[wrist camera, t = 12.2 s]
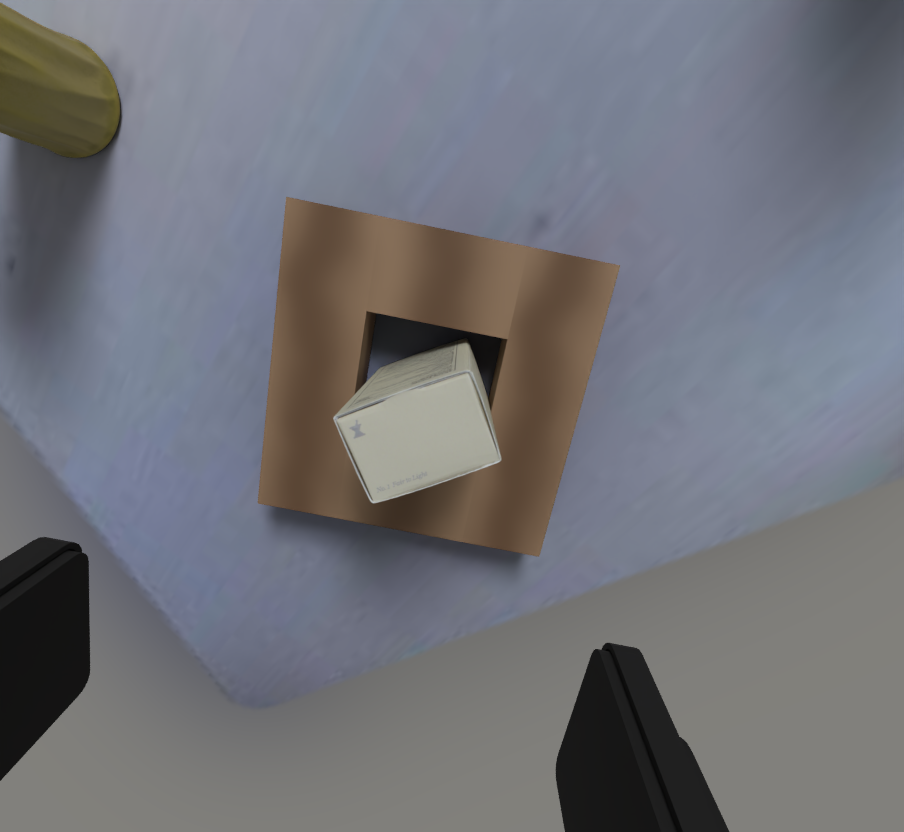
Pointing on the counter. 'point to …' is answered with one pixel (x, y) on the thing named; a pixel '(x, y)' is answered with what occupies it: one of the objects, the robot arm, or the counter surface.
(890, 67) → the counter surface
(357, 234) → the docking block
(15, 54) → the vase
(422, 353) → the skincare box
